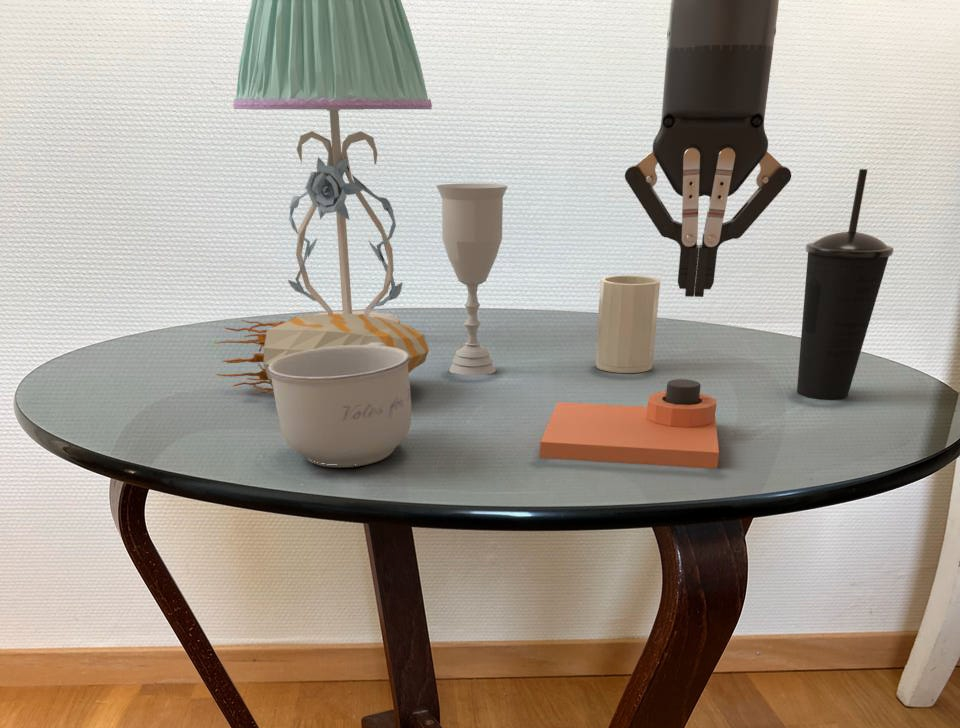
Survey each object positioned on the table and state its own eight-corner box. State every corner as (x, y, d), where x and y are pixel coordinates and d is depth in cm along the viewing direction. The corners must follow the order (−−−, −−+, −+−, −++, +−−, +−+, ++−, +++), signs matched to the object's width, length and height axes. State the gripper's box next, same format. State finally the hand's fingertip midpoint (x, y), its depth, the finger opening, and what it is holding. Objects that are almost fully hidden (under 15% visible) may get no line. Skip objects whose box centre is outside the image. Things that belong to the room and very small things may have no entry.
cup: (653, 361, 105) (660, 276, 101) (651, 374, 100) (659, 285, 96) (597, 358, 106) (603, 274, 102) (593, 371, 101) (598, 283, 97)
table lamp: (224, 350, 109) (169, -77, 90) (310, 317, 127) (280, -45, 108) (396, 364, 104) (377, -90, 84) (461, 327, 121) (457, -54, 102)
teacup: (362, 488, 70) (355, 379, 66) (249, 464, 74) (237, 361, 70) (456, 438, 80) (455, 342, 76) (353, 420, 85) (347, 329, 81)
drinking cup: (859, 408, 89) (907, 172, 79) (776, 399, 91) (813, 170, 82) (866, 389, 95) (912, 168, 85) (788, 381, 98) (824, 166, 88)
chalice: (468, 381, 97) (467, 189, 88) (426, 370, 101) (421, 185, 93) (518, 370, 101) (523, 186, 93) (476, 359, 106) (476, 182, 97)
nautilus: (185, 408, 90) (266, 379, 103) (390, 414, 83) (449, 383, 96) (170, 321, 87) (255, 303, 99) (383, 321, 80) (445, 301, 93)
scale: (712, 425, 84) (716, 392, 82) (717, 469, 73) (722, 432, 72) (556, 417, 86) (558, 384, 84) (539, 458, 76) (540, 421, 74)
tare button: (698, 400, 81) (700, 379, 80) (698, 408, 79) (701, 388, 78) (665, 398, 82) (667, 378, 81) (665, 407, 79) (667, 386, 79)
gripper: (624, 41, 66) (609, 301, 74) (822, 37, 63) (782, 306, 72) (630, 47, 72) (615, 286, 80) (809, 44, 70) (774, 289, 78)
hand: (694, 295), depth 76 cm, fingers closed
